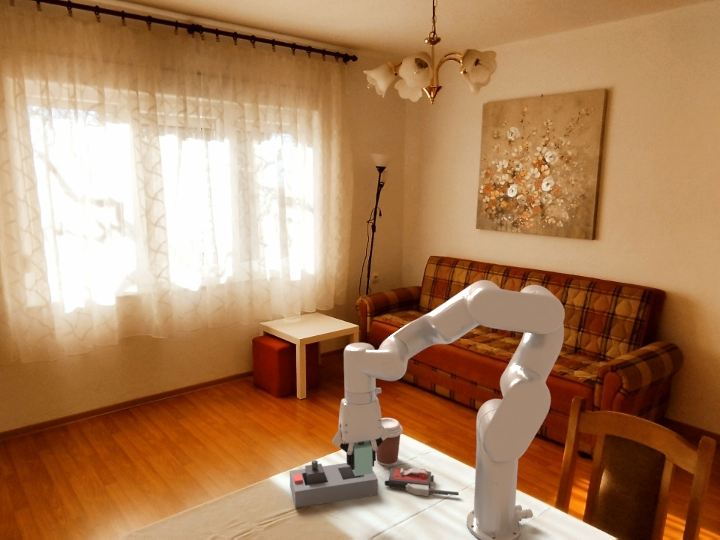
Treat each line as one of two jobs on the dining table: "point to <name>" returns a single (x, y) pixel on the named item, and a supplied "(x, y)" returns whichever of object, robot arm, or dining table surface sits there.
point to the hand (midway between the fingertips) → (361, 464)
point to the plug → (362, 458)
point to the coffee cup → (389, 443)
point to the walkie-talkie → (414, 481)
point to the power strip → (329, 484)
